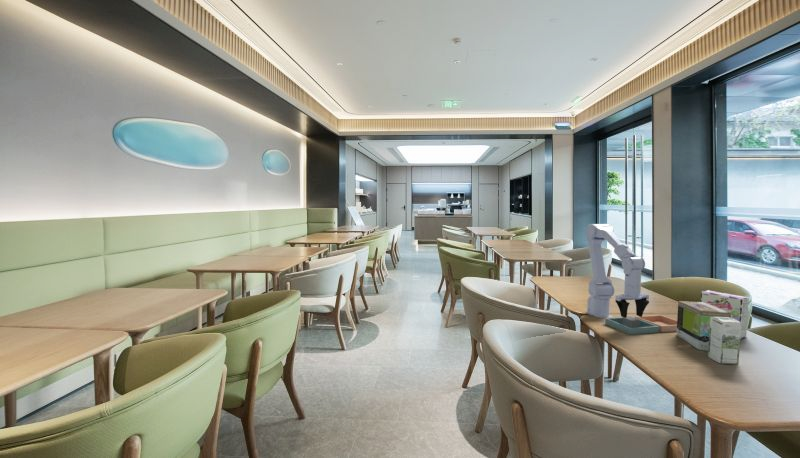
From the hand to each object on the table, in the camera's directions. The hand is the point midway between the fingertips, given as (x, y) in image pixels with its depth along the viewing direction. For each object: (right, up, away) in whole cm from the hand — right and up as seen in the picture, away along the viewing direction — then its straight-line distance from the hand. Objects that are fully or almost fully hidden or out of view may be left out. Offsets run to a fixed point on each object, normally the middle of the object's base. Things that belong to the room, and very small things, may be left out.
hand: (631, 316), depth 153 cm
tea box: (+16, -7, -16) cm, 24 cm away
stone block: (0, -5, 0) cm, 5 cm away
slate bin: (0, -6, 0) cm, 6 cm away
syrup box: (+11, -8, -31) cm, 34 cm away
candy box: (+34, -6, -4) cm, 35 cm away
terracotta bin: (+15, -5, +3) cm, 16 cm away
